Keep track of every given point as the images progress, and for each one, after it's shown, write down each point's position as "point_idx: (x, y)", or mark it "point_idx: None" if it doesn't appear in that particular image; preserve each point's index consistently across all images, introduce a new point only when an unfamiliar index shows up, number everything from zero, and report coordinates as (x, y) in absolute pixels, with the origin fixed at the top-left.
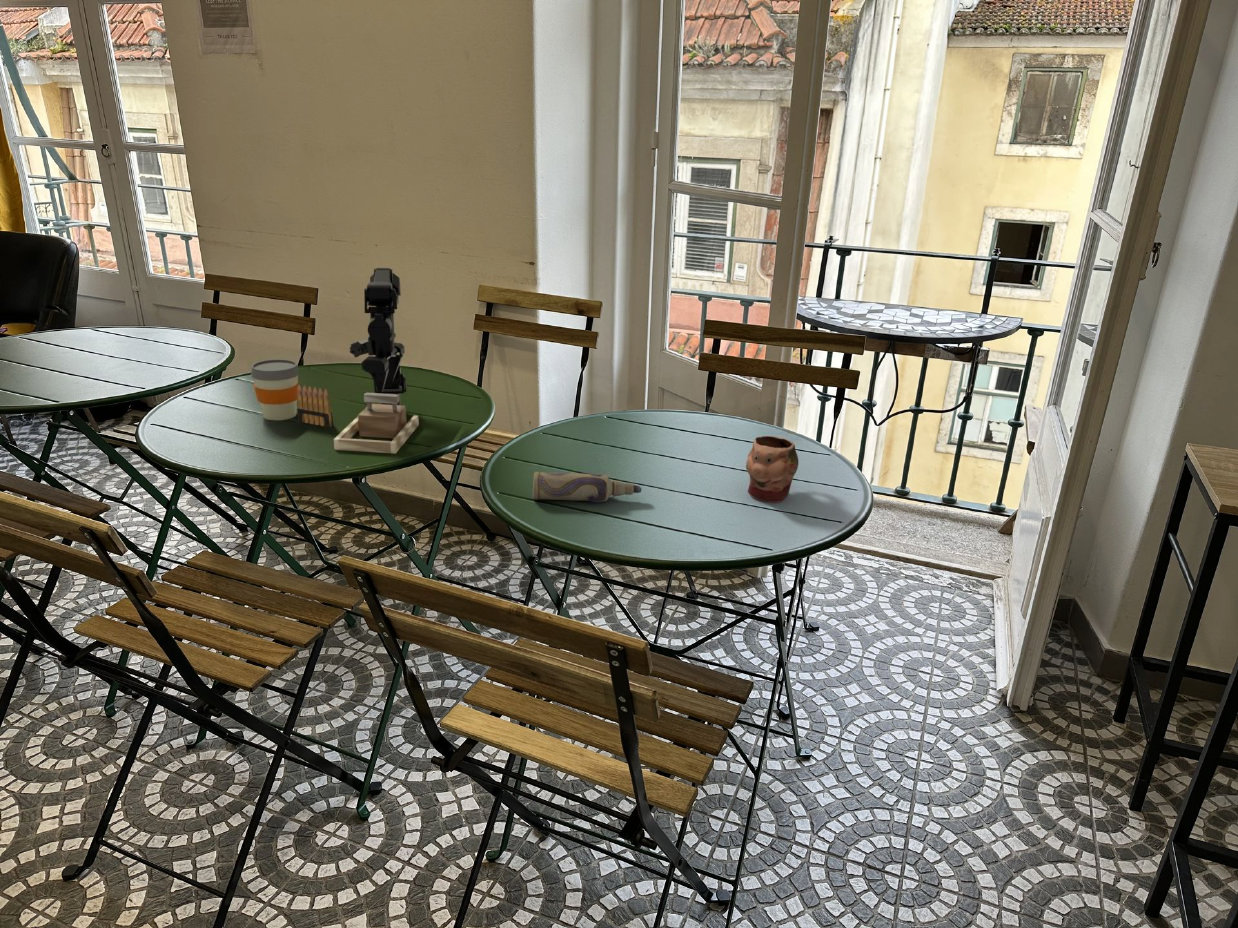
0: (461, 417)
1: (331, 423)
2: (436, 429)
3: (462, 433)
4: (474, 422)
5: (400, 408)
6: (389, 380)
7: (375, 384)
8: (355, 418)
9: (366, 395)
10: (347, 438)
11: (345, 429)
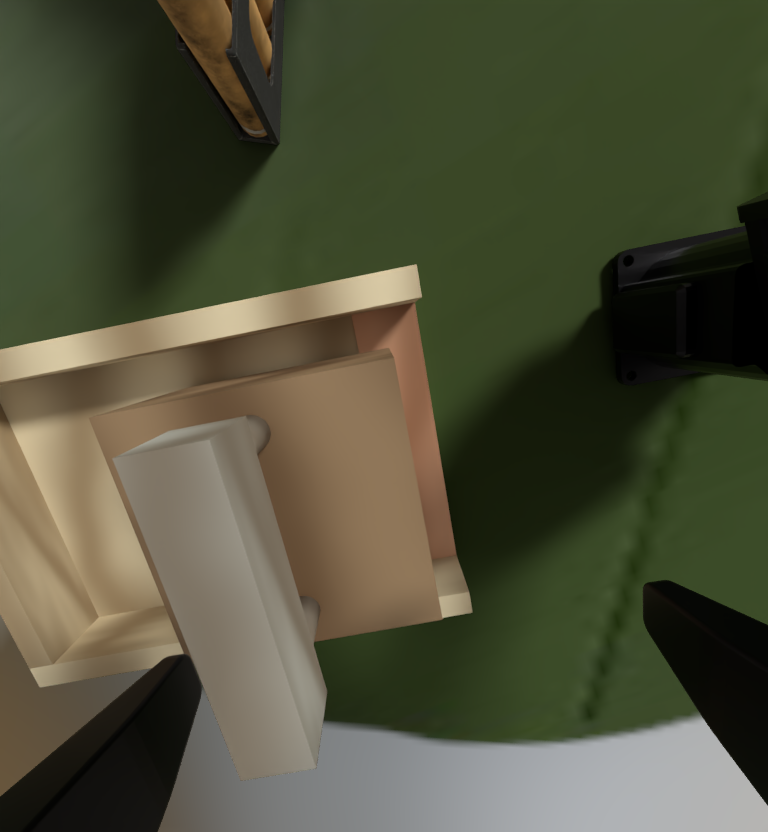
0: (656, 654)
1: (245, 113)
2: (474, 625)
3: (462, 725)
4: (604, 717)
5: (374, 615)
6: (654, 603)
7: (14, 789)
8: (271, 294)
9: (128, 490)
10: (77, 369)
11: (57, 348)
